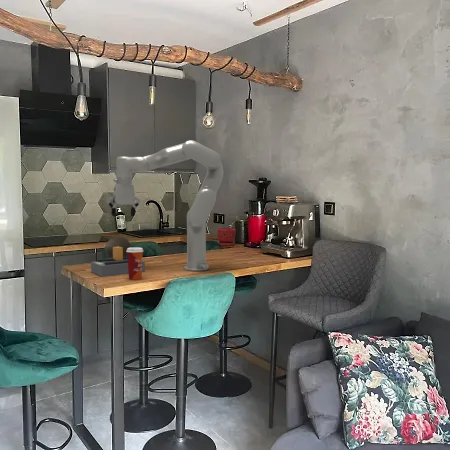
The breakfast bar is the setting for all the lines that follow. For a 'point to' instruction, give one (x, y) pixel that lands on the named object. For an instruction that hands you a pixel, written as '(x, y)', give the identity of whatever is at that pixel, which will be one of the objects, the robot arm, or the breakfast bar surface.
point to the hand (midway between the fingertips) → (123, 216)
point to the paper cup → (135, 262)
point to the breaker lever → (118, 253)
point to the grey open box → (111, 267)
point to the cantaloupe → (115, 243)
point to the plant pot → (228, 238)
